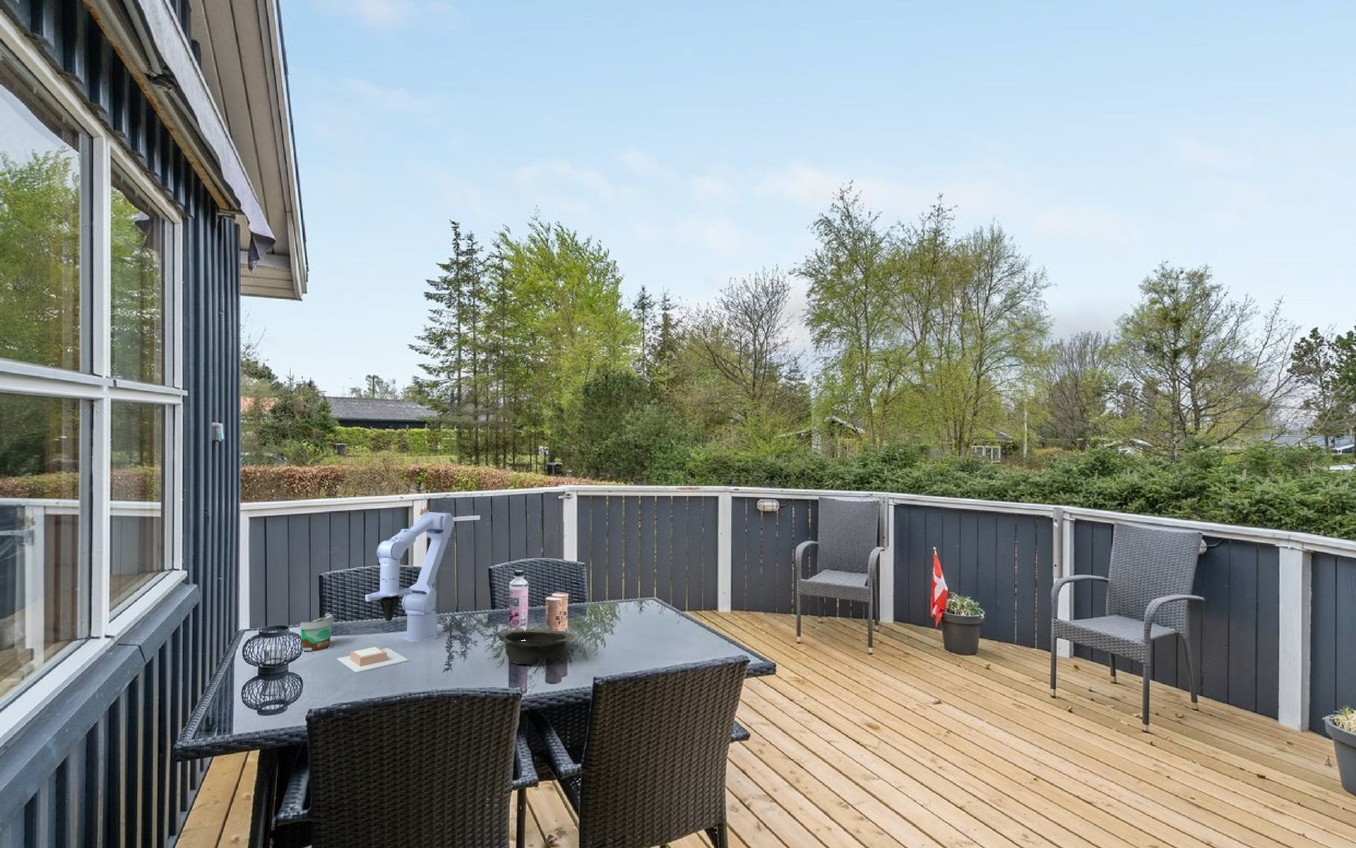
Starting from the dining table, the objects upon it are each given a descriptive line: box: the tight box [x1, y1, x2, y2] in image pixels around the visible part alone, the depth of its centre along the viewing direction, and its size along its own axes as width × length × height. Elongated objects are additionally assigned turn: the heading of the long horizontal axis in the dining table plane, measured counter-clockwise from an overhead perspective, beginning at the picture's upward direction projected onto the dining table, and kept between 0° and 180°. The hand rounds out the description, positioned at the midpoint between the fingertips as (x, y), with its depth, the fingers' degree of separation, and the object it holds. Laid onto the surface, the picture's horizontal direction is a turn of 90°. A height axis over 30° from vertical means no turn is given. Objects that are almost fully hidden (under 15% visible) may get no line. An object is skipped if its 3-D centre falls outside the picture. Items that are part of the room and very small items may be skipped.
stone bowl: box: [496, 628, 576, 665], centre depth 222 cm, size 25×25×9 cm
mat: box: [334, 646, 411, 674], centre depth 215 cm, size 16×18×1 cm
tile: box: [349, 646, 387, 666], centre depth 214 cm, size 3×8×8 cm
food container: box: [299, 612, 335, 653], centre depth 225 cm, size 12×6×10 cm, turn 168°
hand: (388, 620), depth 223 cm, fingers closed
